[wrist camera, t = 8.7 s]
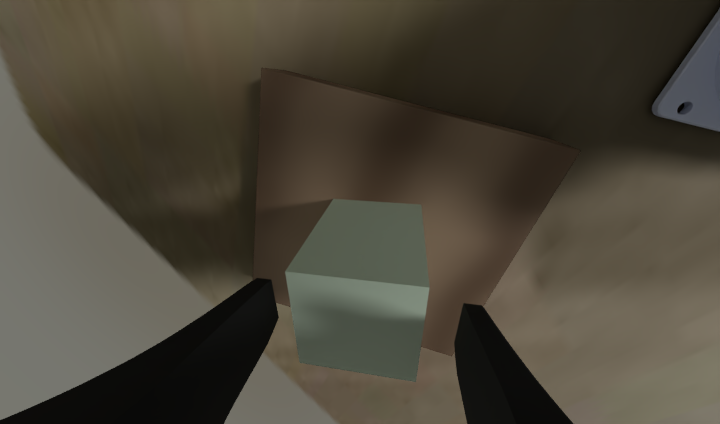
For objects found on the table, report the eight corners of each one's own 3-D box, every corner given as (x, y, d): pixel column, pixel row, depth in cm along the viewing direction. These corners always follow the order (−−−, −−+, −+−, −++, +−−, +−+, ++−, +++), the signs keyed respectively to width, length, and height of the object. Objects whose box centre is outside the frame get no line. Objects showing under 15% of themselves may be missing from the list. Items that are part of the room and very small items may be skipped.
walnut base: (551, 139, 13) (581, 150, 11) (447, 325, 19) (451, 356, 17) (285, 70, 14) (261, 67, 11) (269, 272, 20) (252, 295, 18)
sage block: (421, 204, 13) (429, 287, 8) (413, 276, 15) (415, 381, 10) (333, 199, 14) (285, 271, 8) (336, 268, 16) (299, 362, 10)
